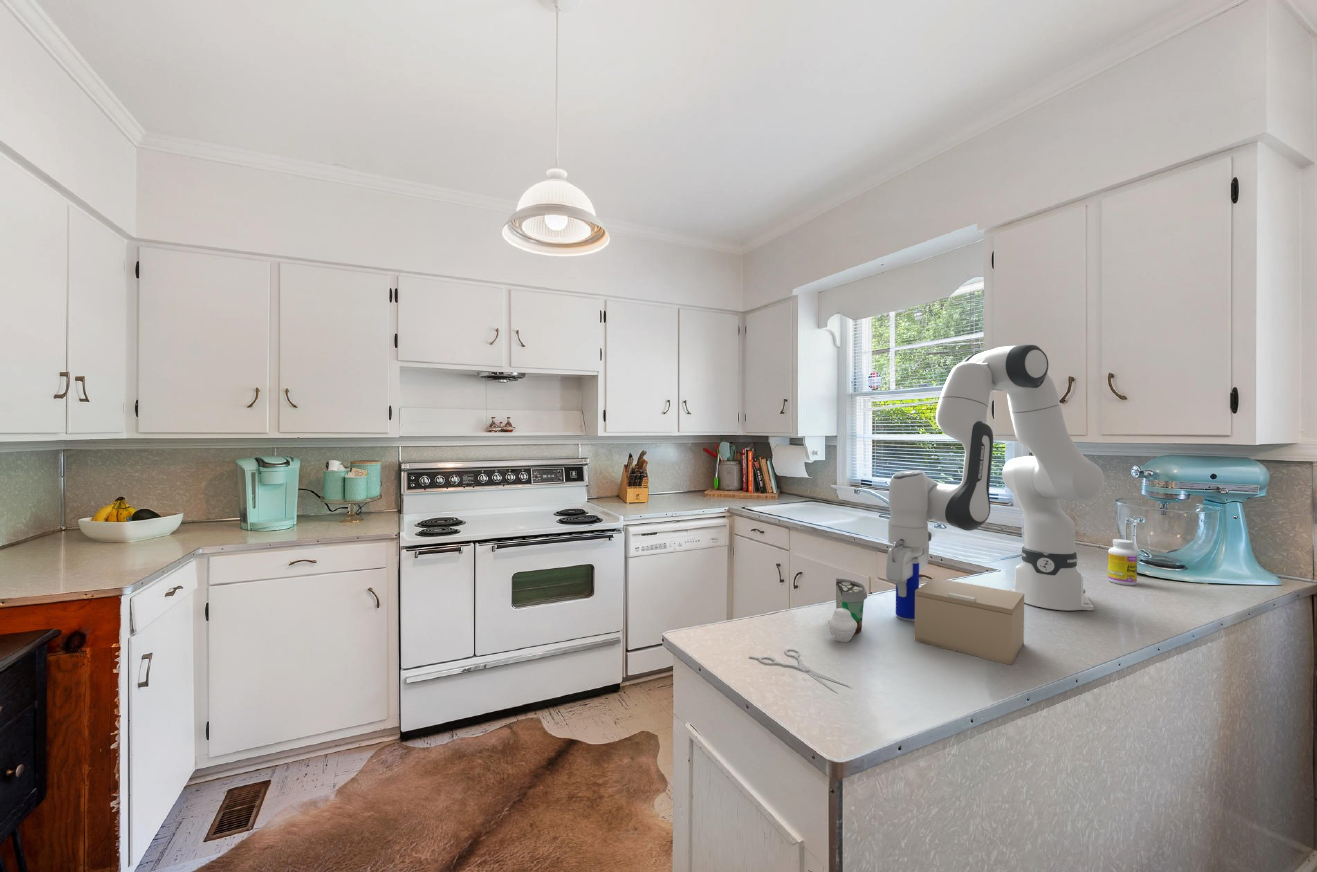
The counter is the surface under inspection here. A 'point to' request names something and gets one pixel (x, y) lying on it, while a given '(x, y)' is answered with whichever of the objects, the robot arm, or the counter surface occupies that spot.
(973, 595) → the lid
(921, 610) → the tan box
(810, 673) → the scissors
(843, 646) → the counter surface
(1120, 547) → the supplement bottle
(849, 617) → the muffin
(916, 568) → the beverage can
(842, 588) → the food container
